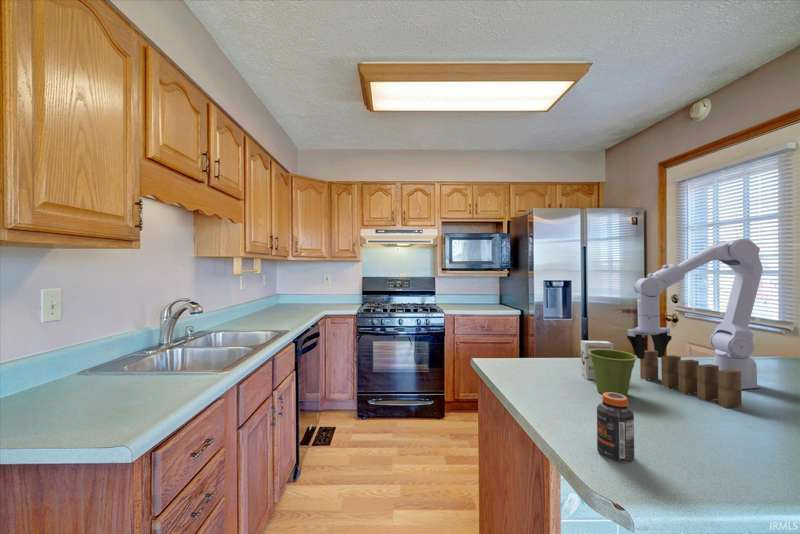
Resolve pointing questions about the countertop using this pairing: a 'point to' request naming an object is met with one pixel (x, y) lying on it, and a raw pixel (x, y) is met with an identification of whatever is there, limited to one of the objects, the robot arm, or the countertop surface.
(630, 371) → the plant pot
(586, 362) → the ink box
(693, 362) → the domino
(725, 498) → the countertop surface
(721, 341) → the robot arm
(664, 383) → the domino
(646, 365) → the domino
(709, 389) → the domino
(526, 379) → the countertop surface
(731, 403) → the domino
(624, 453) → the pill bottle
